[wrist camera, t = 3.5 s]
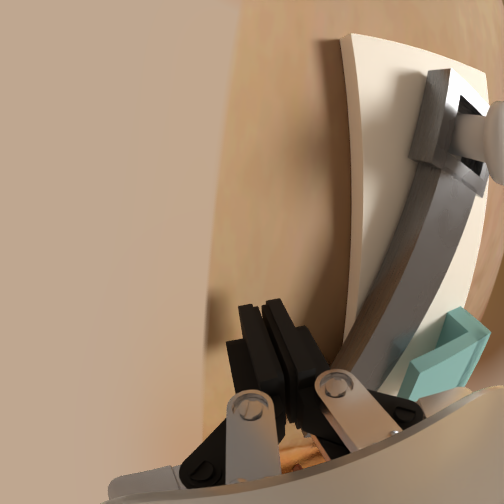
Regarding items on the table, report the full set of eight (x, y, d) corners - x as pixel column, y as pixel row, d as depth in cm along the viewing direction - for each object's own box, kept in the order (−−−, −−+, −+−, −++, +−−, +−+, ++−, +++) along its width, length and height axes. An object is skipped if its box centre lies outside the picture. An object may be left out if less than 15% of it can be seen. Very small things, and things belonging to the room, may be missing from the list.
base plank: (339, 38, 9) (420, 3, 4) (473, 73, 10) (542, 76, 6) (326, 442, 21) (346, 488, 16) (413, 405, 22) (439, 442, 17)
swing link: (427, 70, 9) (451, 68, 8) (479, 115, 10) (500, 118, 9) (287, 419, 16) (293, 438, 14) (344, 414, 17) (352, 430, 15)
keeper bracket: (388, 335, 15) (420, 372, 12) (460, 306, 16) (491, 332, 13) (371, 397, 17) (392, 431, 14) (438, 366, 18) (460, 393, 15)
